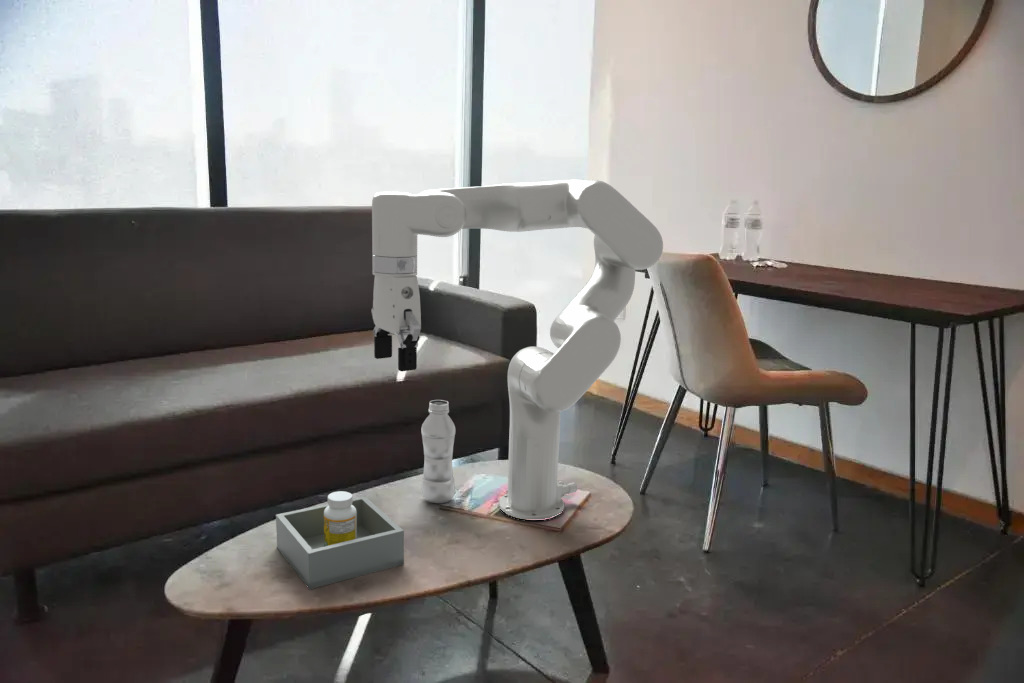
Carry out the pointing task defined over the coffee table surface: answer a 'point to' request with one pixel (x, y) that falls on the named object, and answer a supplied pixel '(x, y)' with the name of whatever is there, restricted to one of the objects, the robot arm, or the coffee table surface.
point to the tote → (339, 544)
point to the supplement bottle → (339, 519)
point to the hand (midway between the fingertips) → (395, 363)
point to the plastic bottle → (438, 454)
